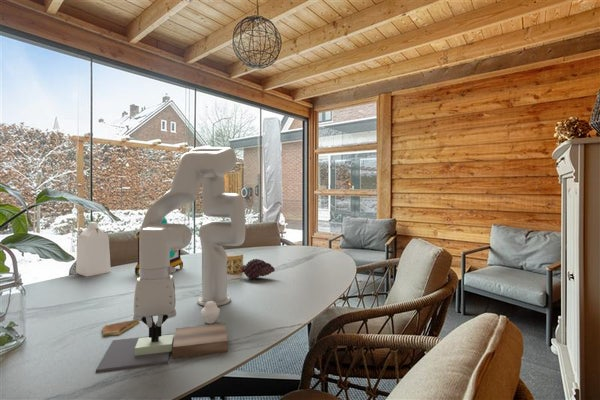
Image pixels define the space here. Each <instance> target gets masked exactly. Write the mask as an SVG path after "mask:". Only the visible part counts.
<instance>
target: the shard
mask: <svg viewBox="0 0 600 400" xmlns="http://www.w3.org/2000/svg"><path fill="white" fill-rule="evenodd" d="M139 323H140V321H135V320H133V319H132V320H127V321H122V322H116V323H110V324H106V325H104V326H102V335H103V337H106V336H120V335H122V334H123V333H124V332H126V331H127V330H129V329H131V328H133V327H134V326H137V324H139Z"/></svg>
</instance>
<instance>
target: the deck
mask: <svg viewBox="0 0 600 400" xmlns="http://www.w3.org/2000/svg"><path fill="white" fill-rule="evenodd" d="M226 328H227V327H226V323H215V324H214V323H212V324H204V325H203V324H202V325H197V326H195V325H194V326H185V327H176V328H175V333H174V343H173V348H172V359H178V358H177V357H181V358H187V357H186V356H189V357H196V355H197V356H204V355H212V354H219V353H228V352H229V351H228V350H229V339H228V335H227V329H226Z"/></svg>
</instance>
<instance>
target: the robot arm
mask: <svg viewBox="0 0 600 400" xmlns="http://www.w3.org/2000/svg"><path fill="white" fill-rule="evenodd" d="M236 164H237V154H236V152H235V150H234V149H233V148H232V147H229V146H201V147H198V146H197V147H195V148H192V149H190V150H189V152H185V153H184V154H182V155H181V156H180V158H179V161H178V163H177V167H176V170H175V173H174V176H173V179H172V182H171V185H170V188H169V189H168V191H167V192H165V193H164V194H162V195H161V196H160V197H159V198H158V199H157V200H156V201H154V202H153V203H152V205H151V206H150V207H149V208H148V209H147V211H146V213H145V215H144V218H143V221H142V223H141V226H140V230H139V232H140V233H139V267H140V269H139V276H138V277H137V279H136V282H135V287H134V288H135V289H134V298H133V299H134V300H133V318H132V320H135V321H139V322H142V323H143V324H145V325H146V326H147V328H148V336H149V338H151V342H154V341H158V339H159V337H161V335H162V333H163V331H162V325H163V324H164V323H165V322H166V321H167V320H168V319H171V318H175V317H176V316H177V311H176V287H175V281H174V280H175V279H174V276H173V275H172V274H173V273H176V267H174V268H173V267H171V266H170V251H171V250H180V251H181V250H184V249H185V248H186V247H188V246H189V245H190V243H191V241H192V236H193V234H192V230H191V229H190V227H189V226H188V225H185V224H183V223H170V222H169V223H168V222H167V223H161V222H162V220H163V218H164V217H165V218H166V216H167V215H169V214H170V213H172V212H174V211H175V210H178V209H180V208H182V207H185V206H187V205H190V204H192V203H193V202H195V201H196V200H197V198H198V195H199V191H200V188H201V189H202V191H201V192H202V193H201V194H202V197H201V198H202V211H203V213H204V215H205V216H206V217H209V218H219V219H221V218H222V219H225V218H226V219H230V220H207V221H205V222H203V223H202V224H201V225H200V226H199V239H200V245H201V296H200V297H198V298H197V304H199V305H200V306H203V307H204V306H205V304H206V302H208V301H214V302H215V303H216V305H217V307H220V306H224V305H227V304H229V303H230V302H231V301H232V296H230V294H228V255H227V251H226V250H225V249H224V247H225V246H227V247H229V246H231V247H239V246H241V245H243V244H244V242H245V239H246V205H245V200H244V197H243V195H241V194H239V193H237V192H226V183H225V178H224V175H226V174H228V173H230V172H231V171H233V170H234V168H235V167H236ZM223 246H224V247H223ZM156 316H157V321H156V322H155V321H154V317H156Z"/></svg>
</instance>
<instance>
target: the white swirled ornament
mask: <svg viewBox="0 0 600 400" xmlns="http://www.w3.org/2000/svg"><path fill="white" fill-rule="evenodd" d="M220 312H221V308H219V306H217V305H216V303H215V302H214V301H208V302H206V304H205V306H203V307H202V309H201V310H200V314H201V317H202V319H203V320H204V322H205V323H206V324H207V325H211V324H214V323H216V322H217V319H218V317H219V315H220Z"/></svg>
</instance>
